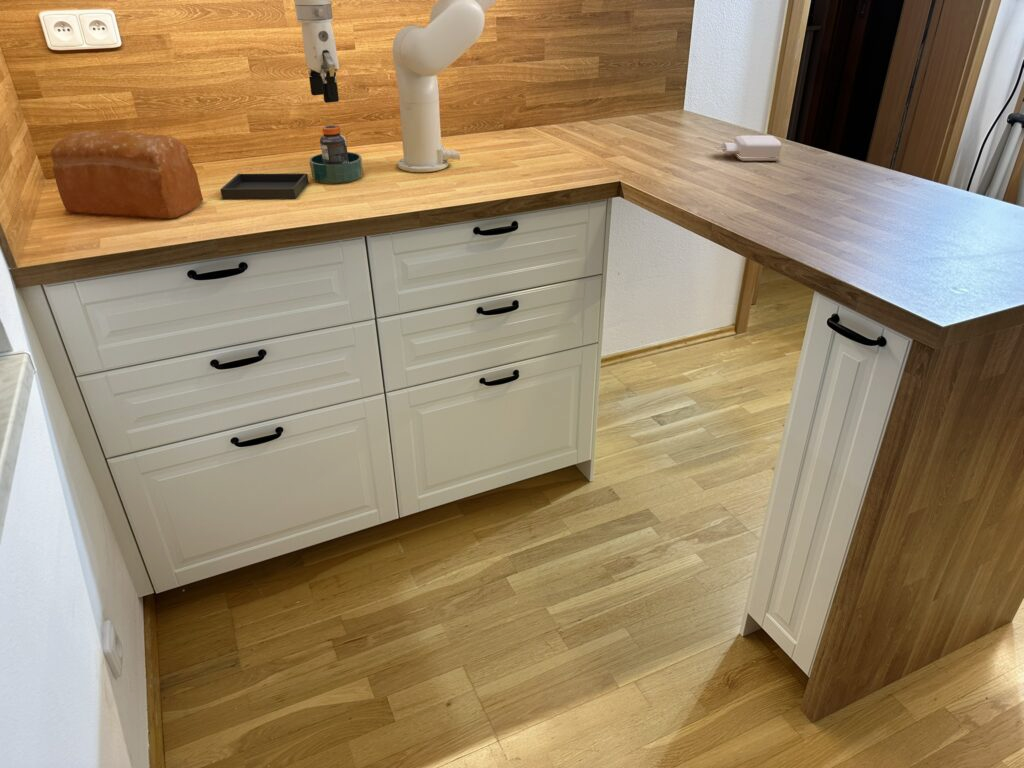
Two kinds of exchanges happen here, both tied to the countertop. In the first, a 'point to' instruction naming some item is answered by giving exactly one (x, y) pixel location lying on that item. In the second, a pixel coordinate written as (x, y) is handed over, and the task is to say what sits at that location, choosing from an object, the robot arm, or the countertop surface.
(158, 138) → the bread
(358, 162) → the bowl
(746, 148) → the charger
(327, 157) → the pill bottle
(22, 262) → the countertop surface
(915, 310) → the countertop surface
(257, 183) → the tray
